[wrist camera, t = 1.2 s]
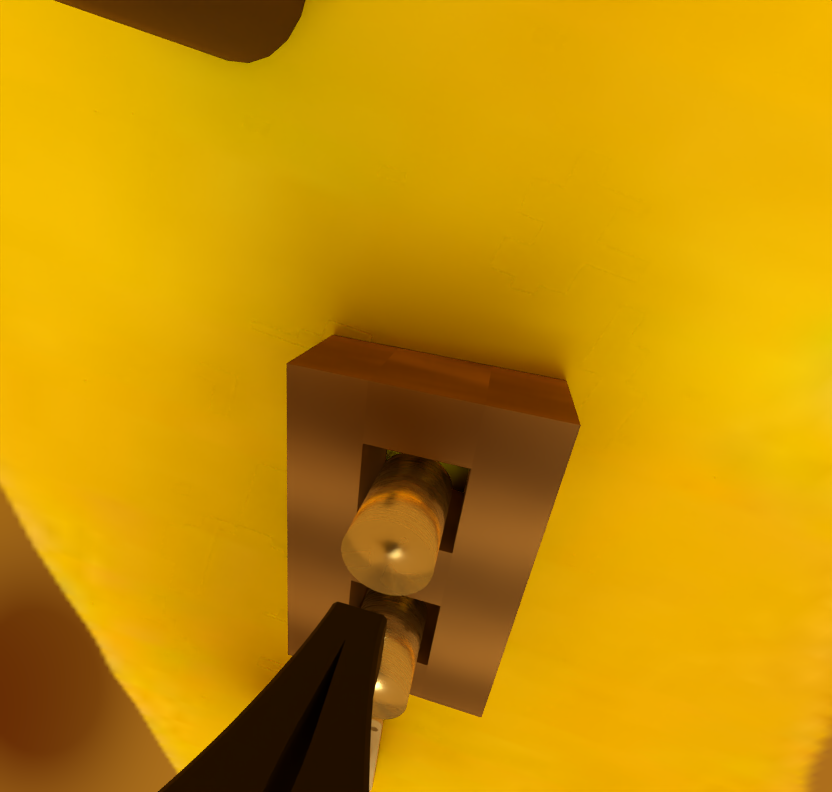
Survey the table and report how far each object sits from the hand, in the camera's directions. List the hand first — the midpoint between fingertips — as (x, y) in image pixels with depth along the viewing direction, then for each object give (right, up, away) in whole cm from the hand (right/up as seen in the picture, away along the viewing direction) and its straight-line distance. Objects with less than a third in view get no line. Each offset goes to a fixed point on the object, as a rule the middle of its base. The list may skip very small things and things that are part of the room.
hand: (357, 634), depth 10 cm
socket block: (+2, 0, +10) cm, 10 cm away
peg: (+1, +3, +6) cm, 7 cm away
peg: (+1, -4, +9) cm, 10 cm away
